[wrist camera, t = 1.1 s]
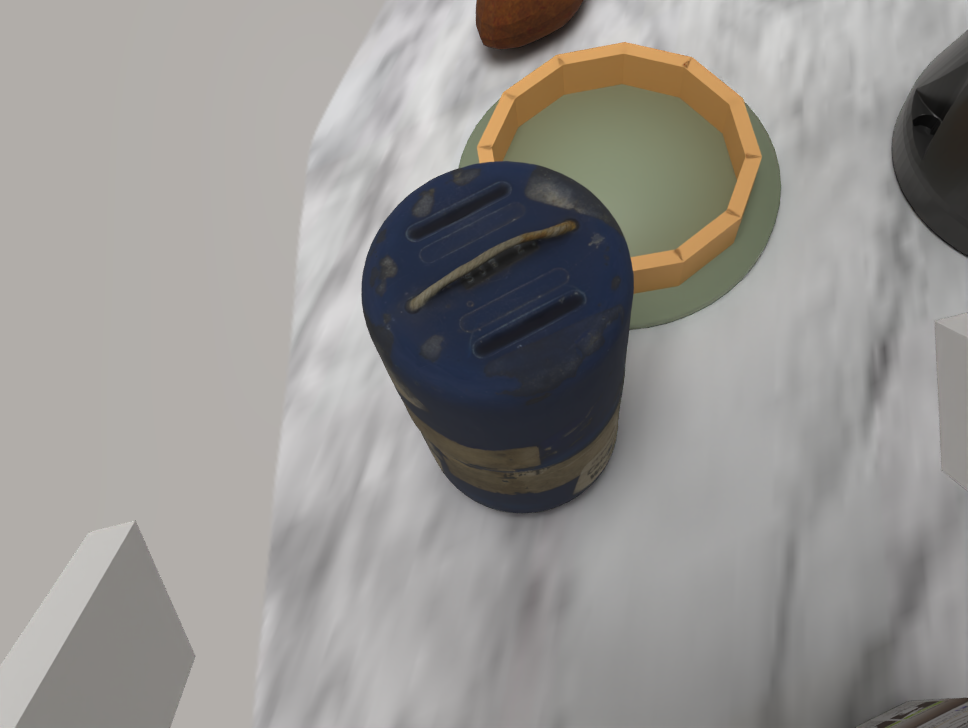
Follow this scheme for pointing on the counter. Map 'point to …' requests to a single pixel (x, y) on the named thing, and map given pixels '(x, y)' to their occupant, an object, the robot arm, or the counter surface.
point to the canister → (505, 328)
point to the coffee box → (924, 715)
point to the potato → (521, 20)
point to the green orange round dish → (649, 165)
